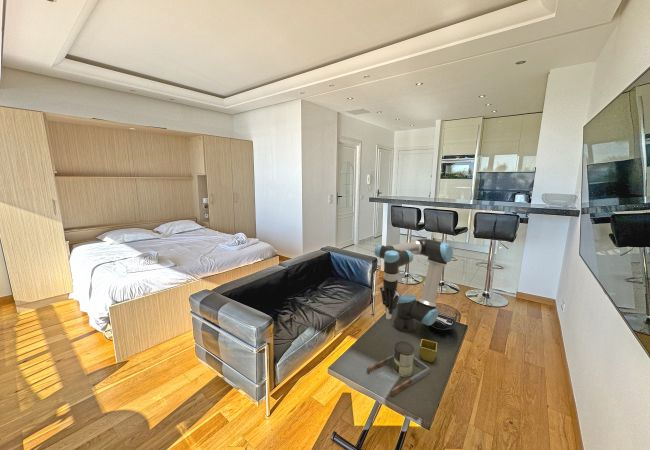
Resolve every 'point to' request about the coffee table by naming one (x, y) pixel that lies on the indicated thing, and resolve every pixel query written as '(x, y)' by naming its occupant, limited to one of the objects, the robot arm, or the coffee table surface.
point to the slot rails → (396, 389)
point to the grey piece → (425, 368)
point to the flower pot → (428, 350)
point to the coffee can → (403, 358)
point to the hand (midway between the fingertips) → (388, 318)
